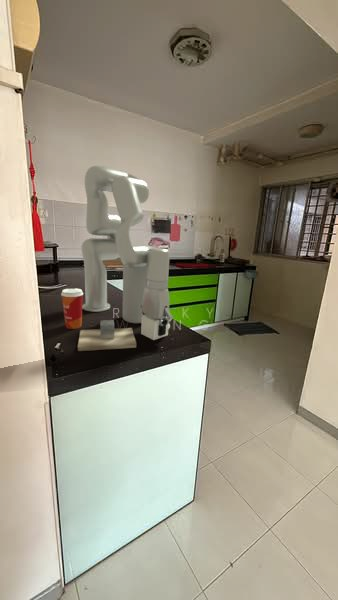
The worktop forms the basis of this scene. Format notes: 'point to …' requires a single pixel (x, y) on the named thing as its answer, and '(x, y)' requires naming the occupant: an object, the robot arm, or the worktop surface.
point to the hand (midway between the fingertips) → (154, 331)
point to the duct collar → (152, 327)
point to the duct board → (106, 340)
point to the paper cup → (72, 307)
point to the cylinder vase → (133, 293)
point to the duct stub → (107, 329)
